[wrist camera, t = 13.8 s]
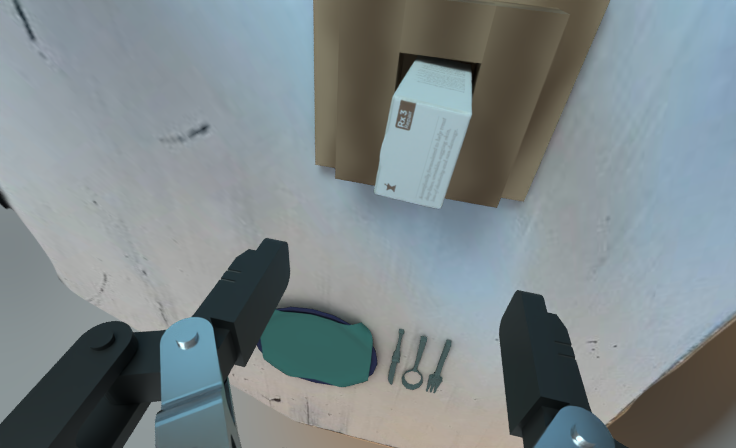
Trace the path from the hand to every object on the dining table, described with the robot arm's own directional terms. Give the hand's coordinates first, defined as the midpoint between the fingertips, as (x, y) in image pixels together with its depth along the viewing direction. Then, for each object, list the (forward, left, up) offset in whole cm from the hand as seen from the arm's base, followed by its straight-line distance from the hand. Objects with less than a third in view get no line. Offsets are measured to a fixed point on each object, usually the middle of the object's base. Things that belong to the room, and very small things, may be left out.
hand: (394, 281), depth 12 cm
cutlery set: (-5, -40, -22) cm, 46 cm away
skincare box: (0, 0, -21) cm, 21 cm away
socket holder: (0, 0, -22) cm, 22 cm away
